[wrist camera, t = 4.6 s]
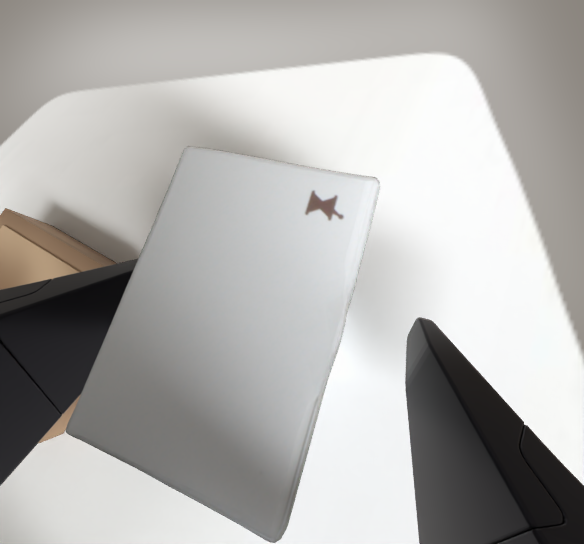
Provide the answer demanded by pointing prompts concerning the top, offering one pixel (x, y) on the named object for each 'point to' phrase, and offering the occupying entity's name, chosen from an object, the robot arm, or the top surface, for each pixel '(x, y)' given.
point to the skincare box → (230, 332)
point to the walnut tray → (41, 265)
